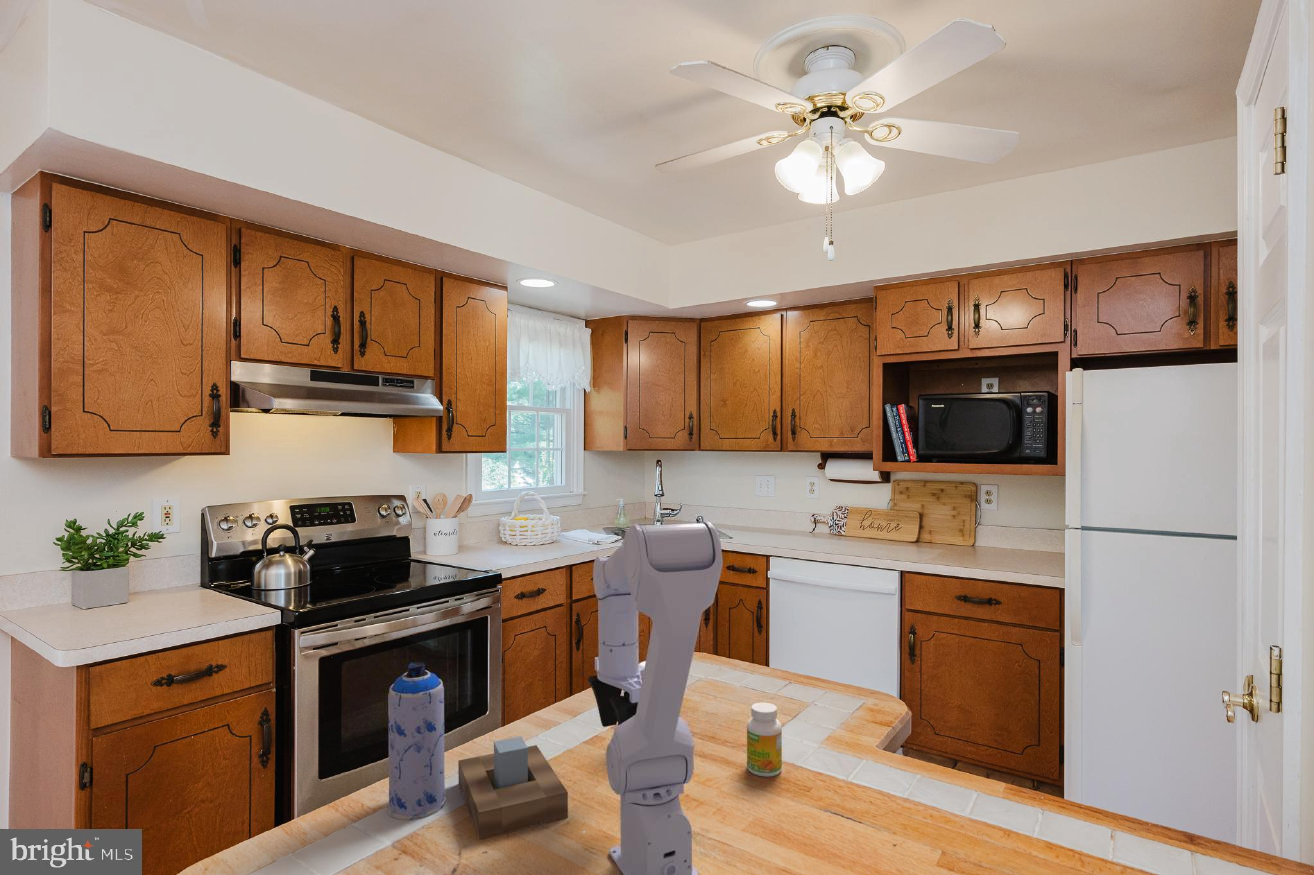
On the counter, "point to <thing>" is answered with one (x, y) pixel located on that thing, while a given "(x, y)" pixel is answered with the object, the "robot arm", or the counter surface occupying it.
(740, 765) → the counter surface
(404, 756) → the aerosol can
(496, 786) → the slate peg
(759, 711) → the supplement bottle
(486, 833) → the walnut socket holder
